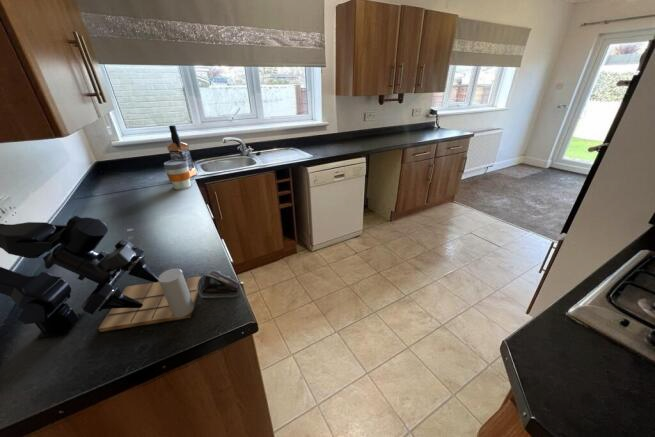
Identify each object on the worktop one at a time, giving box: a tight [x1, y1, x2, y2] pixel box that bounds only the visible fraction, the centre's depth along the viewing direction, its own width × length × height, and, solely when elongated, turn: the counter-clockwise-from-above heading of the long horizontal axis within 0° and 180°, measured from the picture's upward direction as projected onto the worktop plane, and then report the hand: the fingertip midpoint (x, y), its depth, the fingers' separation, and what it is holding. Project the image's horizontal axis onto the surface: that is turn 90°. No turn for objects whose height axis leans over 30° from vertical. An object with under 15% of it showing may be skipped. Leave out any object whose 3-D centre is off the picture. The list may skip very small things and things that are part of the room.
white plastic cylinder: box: [157, 268, 195, 317], centre depth 70 cm, size 5×5×12 cm
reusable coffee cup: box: [163, 159, 192, 190], centre depth 157 cm, size 13×12×15 cm
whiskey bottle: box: [166, 124, 198, 178], centre depth 171 cm, size 10×10×32 cm
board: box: [97, 275, 201, 333], centre depth 77 cm, size 22×16×1 cm
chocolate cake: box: [197, 269, 240, 299], centre depth 81 cm, size 10×7×12 cm
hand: (150, 292), depth 69 cm, fingers open, 9 cm apart
